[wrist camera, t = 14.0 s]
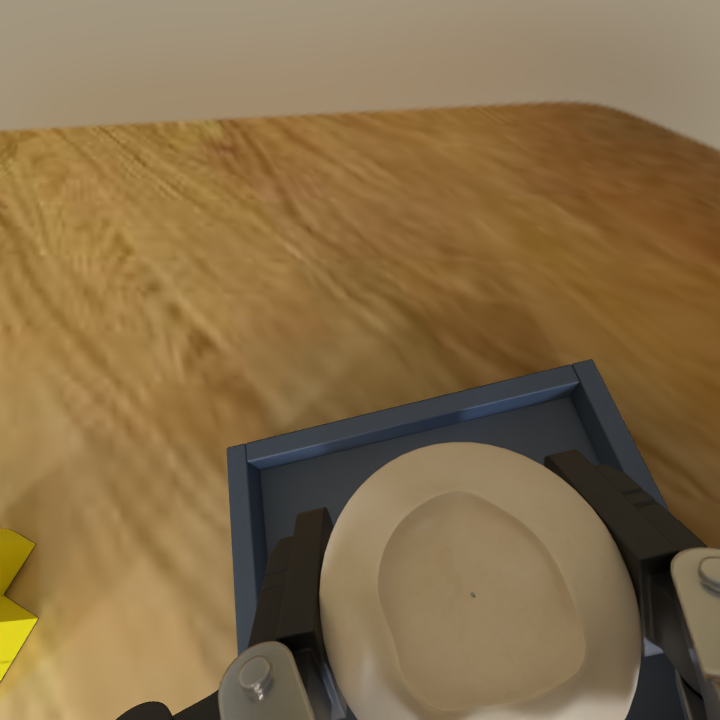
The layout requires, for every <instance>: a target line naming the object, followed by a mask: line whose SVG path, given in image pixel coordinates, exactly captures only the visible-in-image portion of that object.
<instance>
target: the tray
mask: <svg viewBox="0 0 720 720" xmlns="http://www.w3.org/2000/svg"><path fill="white" fill-rule="evenodd" d="M449 442H473V443H481V444H489V445H493V446H496V447H500V448H504V449H508V450H510V451H513V452H516V453H518V454H521V455H523V456H526V457H528V458H530V459H531V460H533V461H535V462H537V463H539V464H541V465H543V466H544V458H545V456H549V455H553V454H557V453H561V452H566V451H570V450H574V449H576V450H578V451H579V452H580V453H581V454H582V455H583V456H584V457H585V458H586V459H587V460H588V461H589V462H590V463H591V464H592V465H593V466H594V467H595V466H600V465H604V464H606V465H608V466H610V467H612V468H615V469H617V470H619V471H621V472H624V473H626V474H627V475H629V476H630V477H631V478H632V479H633V480H634V481H635V482H636V483H637V484H639V485H640V486H641V487H642V489H643V491H646V492H647V493H649V494H650V495H651V496H652V497H653V498H654V499H655V501H656V503H660V504H661V505H662V506H663V507H664V508H665V509H666V510H667V511H669V510H668V508H667V506H666V504H665V502H664V500H663V498H662V496H661V494H660V492H659V490H658V488H657V486H656V484H655V482H654V480H653V478H652V476H651V474H650V472H649V470H648V468H647V466H646V464H645V462H644V460H643V458H642V457H641V455H640V453H639V451H638V449H637V447H636V445H635V443H634V441H633V439H632V437H631V435H630V433H629V431H628V429H627V427H626V425H625V423H624V421H623V419H622V417H621V415H620V413H619V411H618V409H617V407H616V405H615V403H614V401H613V399H612V397H611V395H610V393H609V391H608V389H607V387H606V385H605V383H604V381H603V379H602V377H601V375H600V373H599V372H598V370H597V368H596V366H595V364H594V362H593V360H592V359H590V360H586V361H582V362H578V363H574V364H572V365H566V366H562V367H558V368H554V369H550V370H545V371H541V372H537V373H533V374H529V375H525V376H521V377H517V378H513V379H508V380H504V381H500V382H496V383H492V384H488V385H484V386H480V387H476V388H471V389H467V390H463V391H459V392H455V393H451V394H447V395H443V396H439V397H434V398H430V399H426V400H422V401H418V402H414V403H410V404H406V405H401V406H397V407H393V408H389V409H385V410H381V411H377V412H373V413H369V414H364V415H360V416H356V417H352V418H348V419H344V420H340V421H336V422H332V423H327V424H323V425H319V426H315V427H311V428H307V429H303V430H299V431H295V432H290V433H286V434H282V435H278V436H274V437H270V438H266V439H262V440H258V441H253V442H249V443H247V444H241V445H237V446H233V447H228V448H227V464H228V483H229V501H230V519H231V537H232V555H233V573H234V591H235V609H236V627H237V645H238V656H239V655H240V654H241V653H242V652H244V651H245V650H247V647H248V643H249V639H250V635H251V630H252V626H253V622H254V618H255V613H256V609H257V605H258V601H259V596H260V592H261V591H262V584H263V579H264V576H265V571H266V567H267V562H268V558H269V555H270V553H271V552H272V550H273V549H274V547H275V546H276V545H277V543H278V542H279V540H280V539H281V538H285V537H289V536H293V534H294V528H295V522H296V517H297V514H298V513H302V512H306V511H310V510H314V509H319V508H323V507H326V508H327V509H328V511H329V514H330V517H331V520H332V523H333V526H335V524H336V522H337V520H338V518H339V516H340V514H341V512H342V511H343V509H344V508H345V506H346V504H347V503H348V501H349V500H350V498H351V497H352V496H353V495H354V493H355V492H356V491H357V490H358V488H359V487H360V486H361V485H362V484H363V483H364V482H365V481H366V480H367V479H368V478H369V477H370V476H371V475H372V474H374V473H375V472H376V471H378V470H379V469H380V468H382V467H383V466H384V465H386V464H387V463H389V462H390V461H392V460H394V459H396V458H398V457H399V456H401V455H403V454H406V453H408V452H411V451H413V450H416V449H418V448H422V447H426V446H430V445H434V444H441V443H449ZM338 720H358V719H357V718H356V716H355V715H354V713H353V712H352V711H351V709H350V708H349V706H348V704H347V718H343V719H338ZM625 720H685V716H684V713H683V709H682V705H681V701H680V697H679V693H678V689H677V685H676V679H675V666H674V665H673V664H672V662H671V661H670V660H669V658H668V657H667V656H666V654H665V653H661V654H656V655H651V656H647V657H644V655H643V654H642V652H641V665H640V671H639V676H638V681H637V687H636V691H635V694H634V697H633V700H632V703H631V706H630V709H629V712H628V714H627V716H626V718H625Z"/></svg>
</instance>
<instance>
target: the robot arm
mask: <svg viewBox="0 0 720 720" xmlns="http://www.w3.org/2000/svg"><path fill="white" fill-rule="evenodd" d="M544 467H546V468H547V469H549V470H550V471H552V472H553V473H555V474H556V475H558V476H559V477H560V478H562V479H563V480H564V481H565V482H566V483H568V484H569V485H570V486H571V487H572V488H573V489H575V490H576V491H577V492H578V493H579V494H580V495H581V496H582V498H583V499H584V500H585V501H586V502H587V503H588V504H589V505H590V506H591V507H592V508H593V510H594V511H595V512H596V514H597V515H598V516H599V518H600V519H601V520H602V522H603V523H604V524H605V526H606V527H607V529H608V531H609V532H610V534H611V536H612V537H613V539H614V541H615V542H616V544H617V546H618V548H619V550H620V553H621V555H622V557H623V559H624V561H625V564H626V566H627V568H628V571H629V574H630V577H631V580H632V583H633V586H634V589H635V594H636V599H637V604H638V609H639V614H640V624H641V637H642V645H641V652H642V654H643V655H644V657H647V656H651V655H656V654H661V653H665V654H666V656H667V657H668V658H669V660H670V661H671V662H672V664H673V665H674V666H675V679H676V685H677V689H678V693H679V697H680V701H681V705H682V709H683V713H684V716H685V720H720V549H717V548H710V547H708V546H706V545H705V544H704V543H703V542H702V541H701V540H700V539H699V538H697V537H696V536H695V535H694V534H693V533H692V532H691V531H690V530H689V529H687V528H686V527H685V526H684V525H683V524H682V523H681V522H680V521H679V520H677V519H676V518H675V517H674V516H673V515H672V514H671V513H670V512H669V511H667V510H666V509H665V508H664V507H663V506H662V505H661V504H660V503H656V501H655V499H654V498H653V497H652V496H651V495H650V494H649V493H647V492H646V491H643V489H642V487H641V486H640V485H639V484H637V483H636V482H635V481H634V480H633V479H632V478H631V477H630V476H629V475H627V474H626V473H624V472H621V471H619V470H617V469H615V468H612V467H610V466H608V465H606V464H604V465H600V466H595V467H594V466H593V465H592V464H591V463H590V462H589V461H588V460H587V459H586V458H585V457H584V456H583V455H582V454H581V453H580V452H579V451H578V450H576V449H574V450H570V451H566V452H561V453H557V454H553V455H549V456H545V458H544ZM333 529H334V526H333V523H332V520H331V517H330V514H329V511H328V509H327V508H326V507H323V508H319V509H314V510H310V511H306V512H302V513H298V514H297V517H296V522H295V528H294V534H293V536H289V537H285V538H281V539H280V540H279V542H278V543H277V545H276V546H275V547H274V549H273V550H272V552H271V553H270V555H269V558H268V562H267V567H266V571H265V576H264V579H263V584H262V591H261V592H260V596H259V601H258V605H257V609H256V613H255V618H254V622H253V626H252V630H251V635H250V639H249V643H248V647H247V650H245V651H244V652H242V653H241V654H240V655H239V656H238V657H237V658H236V659H235V660H234V661H233V662H232V663H231V664H230V666H229V667H228V668H227V670H226V672H225V673H224V675H223V678H222V680H221V682H220V686H219V689H218V690H217V691H216V692H214V693H213V694H211V695H210V696H208V697H206V698H205V699H203V700H201V701H199V702H197V703H195V704H194V705H192V706H190V707H188V708H186V709H184V710H183V711H181V712H179V713H177V714H175V715H173V716H172V714H171V713H170V711H169V709H168V708H167V706H165V705H164V704H163V703H160V702H154V701H152V702H146V703H142V704H139V705H137V706H135V707H133V708H131V709H130V710H128V711H126V712H125V713H124V714H122V715H121V716H119V717H118V718H117V719H116V720H338V719H343V718H347V702H346V700H345V698H344V696H343V694H342V692H341V690H340V688H339V687H338V684H337V682H336V679H335V677H334V674H333V671H332V669H331V666H330V664H329V660H328V656H327V652H326V649H325V645H324V641H323V634H322V627H321V619H320V605H319V591H320V578H321V570H322V565H323V560H324V555H325V551H326V548H327V545H328V542H329V539H330V535H331V533H332V531H333Z"/></svg>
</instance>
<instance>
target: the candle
mask: <svg viewBox="0 0 720 720" xmlns="http://www.w3.org/2000/svg"><path fill="white" fill-rule="evenodd" d="M319 605H320V619H321V627H322V634H323V641H324V645H325V649H326V652H327V656H328V660H329V664H330V666H331V669H332V671H333V674H334V677H335V679H336V682H337V684H338V687H339V688H340V690H341V692H342V694H343V696H344V698H345V700H346V702H347V704H348V706H349V708H350V709H351V711H352V712H353V713H354V715H355V716H356V718H357V719H358V720H625V718H626V716H627V714H628V712H629V709H630V706H631V703H632V700H633V697H634V694H635V691H636V687H637V681H638V676H639V671H640V665H641V645H642V637H641V624H640V614H639V609H638V604H637V599H636V594H635V589H634V586H633V583H632V580H631V577H630V574H629V571H628V568H627V566H626V564H625V561H624V559H623V557H622V555H621V553H620V550H619V548H618V546H617V544H616V542H615V541H614V539H613V537H612V536H611V534H610V532H609V531H608V529H607V527H606V526H605V524H604V523H603V522H602V520H601V519H600V518H599V516H598V515H597V514H596V512H595V511H594V510H593V508H592V507H591V506H590V505H589V504H588V503H587V502H586V501H585V500H584V499H583V498H582V496H581V495H580V494H579V493H578V492H577V491H576V490H575V489H573V488H572V487H571V486H570V485H569V484H568V483H566V482H565V481H564V480H563V479H562V478H560V477H559V476H558V475H556V474H555V473H553V472H552V471H550V470H549V469H547V468H546V467H544V466H543V465H541V464H539V463H537V462H535V461H533V460H531V459H530V458H528V457H526V456H523V455H521V454H518V453H516V452H513V451H510V450H508V449H504V448H500V447H496V446H493V445H489V444H481V443H473V442H449V443H441V444H434V445H430V446H426V447H422V448H418V449H416V450H413V451H411V452H408V453H406V454H403V455H401V456H399V457H398V458H396V459H394V460H392V461H390V462H389V463H387V464H386V465H384V466H383V467H382V468H380V469H379V470H378V471H376V472H375V473H374V474H372V475H371V476H370V477H369V478H368V479H367V480H366V481H365V482H364V483H363V484H362V485H361V486H360V487H359V488H358V490H357V491H356V492H355V493H354V495H353V496H352V497H351V498H350V500H349V501H348V503H347V504H346V506H345V508H344V509H343V511H342V512H341V514H340V516H339V518H338V520H337V522H336V524H335V526H334V529H333V531H332V533H331V535H330V539H329V542H328V545H327V548H326V551H325V555H324V560H323V565H322V570H321V578H320V591H319Z"/></svg>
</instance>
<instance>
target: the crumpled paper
mask: <svg viewBox="0 0 720 720" xmlns="http://www.w3.org/2000/svg"><path fill="white" fill-rule="evenodd" d="M35 545H36V544H34V543H33V542H31V541H29V540H28V539H26V538H24V537H22V536H21V535H19V534H17V533H16V532H14V531H12V530H8V529H0V681H1V679H2V678H3V676H4V674H5V673H6V671H7V669H8V668H9V666H10V664H11V663H12V661H13V660H14V658H15V656H16V655H17V653H18V651H19V650H20V648H21V646H22V645H23V643H24V641H25V640H26V638H27V636H28V635H29V633H30V631H31V630H32V628H33V626H34V625H35V623H36V621H37V620H38V618H37V617H35V616H34V615H32V614H31V613H29V612H28V611H26V610H25V609H23V608H22V607H20V606H19V605H17V604H16V603H14V602H13V601H11V600H10V599H8V598H6V597H5V596H3V594H4V593H5V591H6V590H7V588H8V587H9V585H10V584H11V582H12V580H13V579H14V577H15V576H16V574H17V573H18V571H19V569H20V568H21V566H22V565H23V563H24V562H25V560H26V559H27V557H28V555H29V554H30V552H31V551H32V549H33V548H34V546H35Z"/></svg>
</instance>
